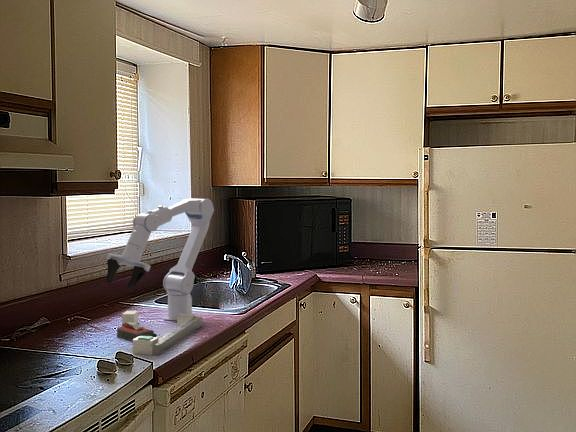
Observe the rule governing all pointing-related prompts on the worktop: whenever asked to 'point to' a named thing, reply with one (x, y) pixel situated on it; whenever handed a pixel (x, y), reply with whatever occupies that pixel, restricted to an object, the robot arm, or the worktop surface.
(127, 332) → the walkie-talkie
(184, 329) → the off-white long bar
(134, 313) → the module
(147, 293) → the worktop surface
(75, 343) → the worktop surface
